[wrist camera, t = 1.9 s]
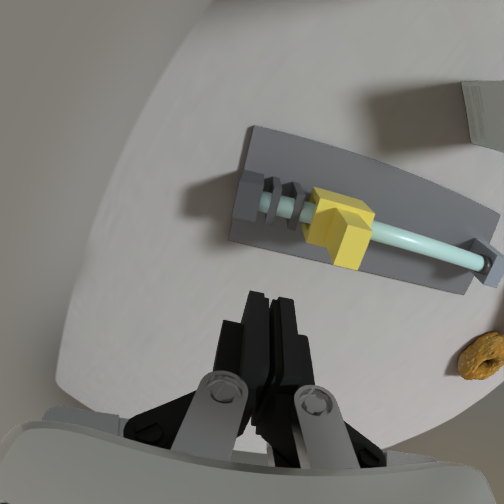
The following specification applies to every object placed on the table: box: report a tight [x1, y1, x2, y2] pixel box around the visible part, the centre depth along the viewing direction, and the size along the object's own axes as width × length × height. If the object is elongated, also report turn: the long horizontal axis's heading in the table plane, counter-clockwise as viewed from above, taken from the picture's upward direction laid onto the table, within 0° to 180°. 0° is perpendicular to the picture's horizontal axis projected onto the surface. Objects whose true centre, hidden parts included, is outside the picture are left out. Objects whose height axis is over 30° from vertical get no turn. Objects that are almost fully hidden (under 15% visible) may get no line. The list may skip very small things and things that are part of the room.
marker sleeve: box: [301, 186, 375, 270], centre depth 25 cm, size 4×5×8 cm
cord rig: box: [228, 125, 504, 295], centre depth 29 cm, size 12×32×6 cm, turn 77°
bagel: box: [457, 332, 504, 380], centre depth 38 cm, size 10×11×5 cm
